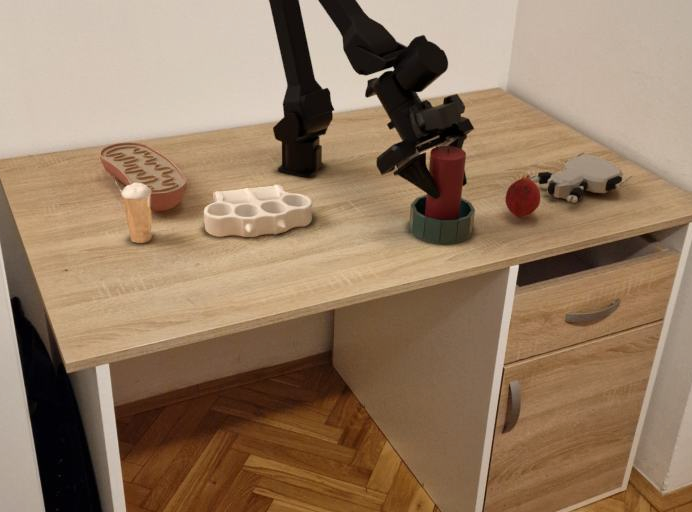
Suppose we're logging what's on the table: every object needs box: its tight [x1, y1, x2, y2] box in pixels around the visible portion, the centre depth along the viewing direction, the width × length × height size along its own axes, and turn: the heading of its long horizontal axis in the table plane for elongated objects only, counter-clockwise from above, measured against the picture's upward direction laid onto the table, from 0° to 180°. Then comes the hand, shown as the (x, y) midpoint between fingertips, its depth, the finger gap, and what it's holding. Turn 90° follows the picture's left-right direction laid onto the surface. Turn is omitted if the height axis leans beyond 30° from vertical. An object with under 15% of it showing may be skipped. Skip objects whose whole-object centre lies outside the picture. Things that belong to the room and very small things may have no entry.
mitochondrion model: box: [99, 141, 187, 212], centre depth 162 cm, size 23×10×5 cm, turn 33°
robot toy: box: [530, 150, 634, 204], centre depth 168 cm, size 12×4×15 cm
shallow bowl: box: [408, 194, 476, 245], centre depth 154 cm, size 10×10×4 cm
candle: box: [425, 146, 467, 220], centre depth 151 cm, size 6×6×14 cm
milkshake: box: [114, 180, 153, 244], centre depth 146 cm, size 4×5×10 cm
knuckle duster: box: [203, 183, 313, 238], centre depth 155 cm, size 3×18×15 cm
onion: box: [504, 173, 541, 219], centre depth 157 cm, size 6×6×8 cm
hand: (451, 191), depth 150 cm, fingers open, 7 cm apart
